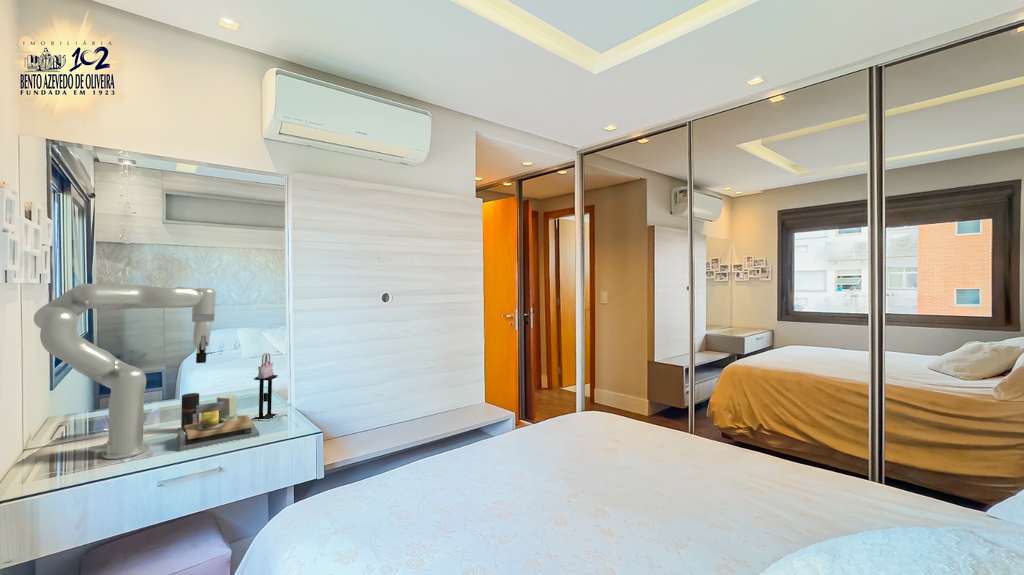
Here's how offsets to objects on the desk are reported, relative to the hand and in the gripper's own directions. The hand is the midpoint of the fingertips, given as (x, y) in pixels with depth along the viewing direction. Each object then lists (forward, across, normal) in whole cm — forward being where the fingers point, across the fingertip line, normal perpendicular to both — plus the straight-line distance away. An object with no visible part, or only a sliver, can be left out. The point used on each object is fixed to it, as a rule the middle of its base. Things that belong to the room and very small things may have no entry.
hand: (200, 362), depth 177 cm
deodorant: (+30, -6, -2) cm, 30 cm away
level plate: (+25, +9, +7) cm, 28 cm away
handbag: (+29, -7, +26) cm, 40 cm away
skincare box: (+29, -8, +11) cm, 32 cm away
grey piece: (+29, +9, +6) cm, 32 cm away
